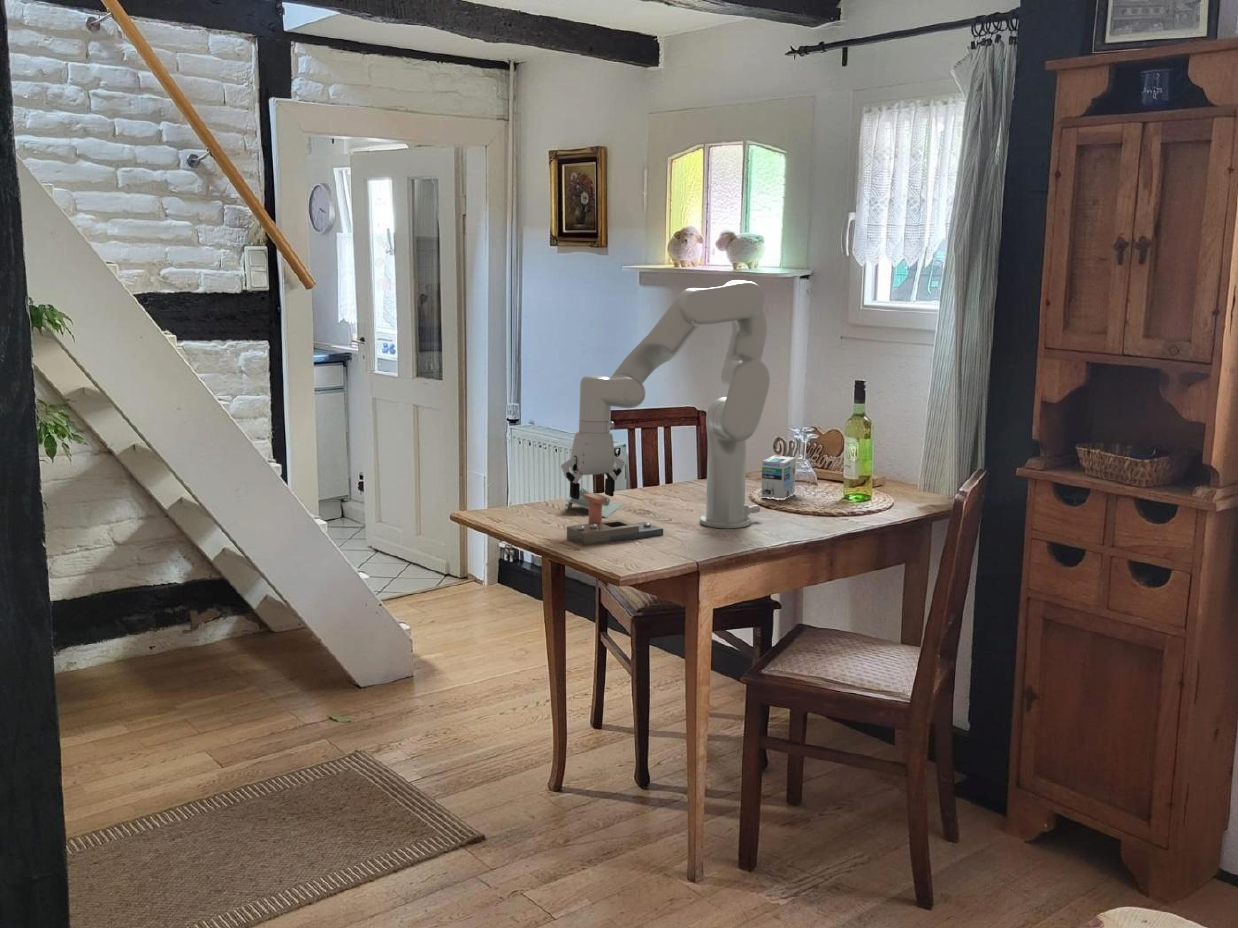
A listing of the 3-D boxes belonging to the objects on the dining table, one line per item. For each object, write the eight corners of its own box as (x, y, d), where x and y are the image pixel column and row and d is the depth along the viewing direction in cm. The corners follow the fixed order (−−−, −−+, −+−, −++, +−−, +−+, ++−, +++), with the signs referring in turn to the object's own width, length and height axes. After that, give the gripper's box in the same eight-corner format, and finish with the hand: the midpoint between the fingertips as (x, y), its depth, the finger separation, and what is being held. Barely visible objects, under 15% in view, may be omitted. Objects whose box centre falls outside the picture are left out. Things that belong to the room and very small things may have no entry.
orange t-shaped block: (593, 524, 281) (593, 493, 280) (608, 530, 275) (608, 498, 274) (582, 526, 280) (582, 494, 278) (596, 532, 274) (596, 499, 272)
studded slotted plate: (645, 527, 279) (645, 513, 278) (663, 534, 272) (663, 520, 271) (566, 538, 267) (566, 524, 266) (583, 546, 260) (583, 531, 260)
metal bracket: (561, 494, 291) (579, 482, 305) (555, 514, 292) (573, 502, 306) (613, 513, 288) (628, 500, 302) (606, 533, 289) (622, 520, 304)
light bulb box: (783, 501, 309) (785, 462, 307) (760, 499, 312) (761, 460, 310) (795, 494, 319) (796, 456, 317) (772, 492, 322) (773, 454, 320)
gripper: (616, 423, 280) (614, 491, 283) (555, 426, 271) (553, 496, 274) (633, 428, 274) (630, 497, 277) (570, 431, 265) (568, 502, 268)
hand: (592, 496), depth 276 cm, fingers open, 9 cm apart
